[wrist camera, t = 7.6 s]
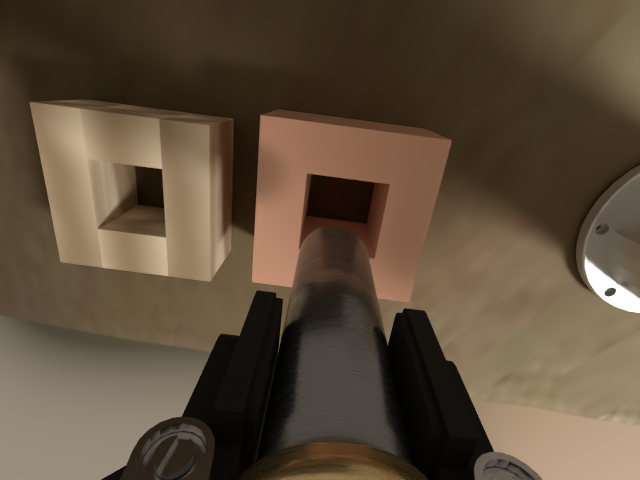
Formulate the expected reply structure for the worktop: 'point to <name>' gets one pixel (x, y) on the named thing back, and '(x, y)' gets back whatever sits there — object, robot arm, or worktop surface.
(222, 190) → the mount
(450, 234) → the worktop surface
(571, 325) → the worktop surface
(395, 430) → the pin
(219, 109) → the worktop surface
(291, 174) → the dock
